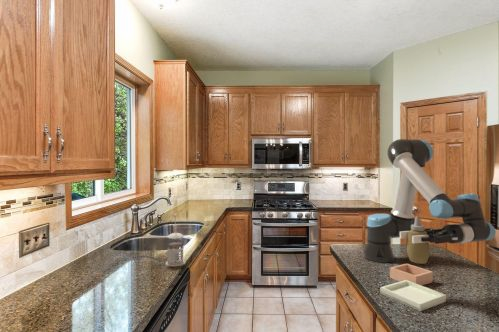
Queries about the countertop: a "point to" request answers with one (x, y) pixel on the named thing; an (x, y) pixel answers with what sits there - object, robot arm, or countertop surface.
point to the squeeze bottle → (417, 244)
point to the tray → (413, 295)
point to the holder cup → (411, 274)
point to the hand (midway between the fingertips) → (406, 237)
